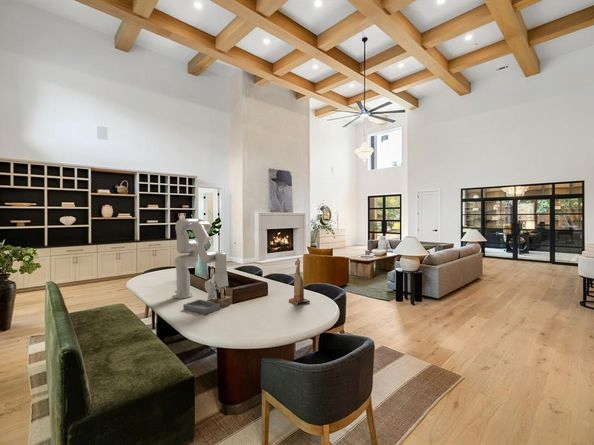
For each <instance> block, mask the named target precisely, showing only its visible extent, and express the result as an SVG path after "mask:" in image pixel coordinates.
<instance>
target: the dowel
mask: <svg viewBox="0 0 594 445" xmlns="http://www.w3.org/2000/svg"><path fill="white" fill-rule="evenodd" d="M218 289H219V288H218ZM220 292H221V298H219V299H223V298H224V287H221V288H220Z"/></svg>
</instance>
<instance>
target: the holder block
mask: <svg viewBox="0 0 594 445" xmlns="http://www.w3.org/2000/svg"><path fill="white" fill-rule="evenodd" d="M232 301H233V299H232V296H228V295H226V296H224V298H223V299H219V298H217V296H216V297H214V298H211V301H210V302H213V303H218V304H220V309H223V308H225V307H227V306H231V305H232V304H233V302H232Z"/></svg>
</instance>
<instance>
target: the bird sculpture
mask: <svg viewBox="0 0 594 445" xmlns="http://www.w3.org/2000/svg"><path fill="white" fill-rule="evenodd" d="M294 265H295V266H296V268H295V274H294V281H293V298H289V299H288V303H290V304H292V305H295V306H296V307H297V305H298V304H299V303H302V302H307V303H308V304H310V303H311V301H310V300H309V299H306V298H305V291H304V290H305V289H304V288H305V285H304V284H305V283H304V279H303V277H302V276H301V271H300V266H301V260H300V258H298V257H297V259H296V260H295V262H294Z"/></svg>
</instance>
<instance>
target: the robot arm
mask: <svg viewBox="0 0 594 445" xmlns="http://www.w3.org/2000/svg"><path fill="white" fill-rule="evenodd" d="M174 229H175V234H176V251H177V253H178V254H180V255H179V256H177V257H175V259H174V266H175V270H176V271H175V272H176V274H175V276H176V277H175V278H176V279H175V280H176V290H175V291H174V293H175V294H174V298H175V299H179V300H181V299H188V298H189V299H190V298H191V297H193V293H191V274H190V271H189V268H190V267H195V266H197V264H198V261H199V259H200V260H201V262H202V263H204V264H213V263H214V266H215V268H214V271H215V272H214V274H213V275H214V279H213V289H214V290H215V291H216V297H217V298H221V292H220V288H221V287H224V296H227V295H226V291H227V288H228V286H230V284H229V279H228V268H227V253H226V252H222V251H221V252H220V251H209V252H208V251H206V248H205V245H206V244H207V243H208V242H209V241H210V240H211V239H210V238H211V237H210V236H209V234H208V233H209V232H210V231H211V224H210V222H209V221H206V220H204V219H200V218H181V219H178V220H177V221H176V222H175V227H174ZM188 231H192V232H193V235H194V237H195V239H196V240H194V239H191V240H190V239H189V238H190V236H189V232H188ZM196 241H197V242H196ZM181 254H182V255H181ZM218 288H219V289H218Z"/></svg>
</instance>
